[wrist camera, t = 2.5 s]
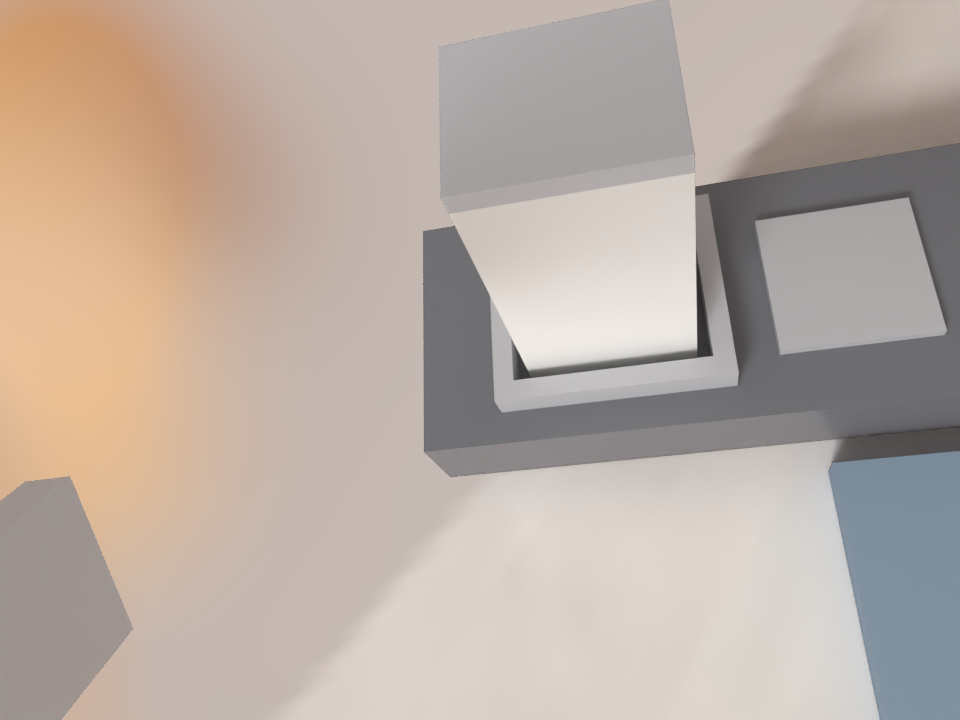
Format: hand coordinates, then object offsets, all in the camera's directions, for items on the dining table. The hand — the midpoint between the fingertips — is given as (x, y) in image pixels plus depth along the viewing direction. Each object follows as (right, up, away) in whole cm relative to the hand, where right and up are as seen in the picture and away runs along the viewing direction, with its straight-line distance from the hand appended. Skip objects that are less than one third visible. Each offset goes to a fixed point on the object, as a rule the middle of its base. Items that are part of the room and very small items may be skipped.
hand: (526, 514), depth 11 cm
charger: (+3, +4, +15) cm, 16 cm away
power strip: (+14, +4, +15) cm, 21 cm away
